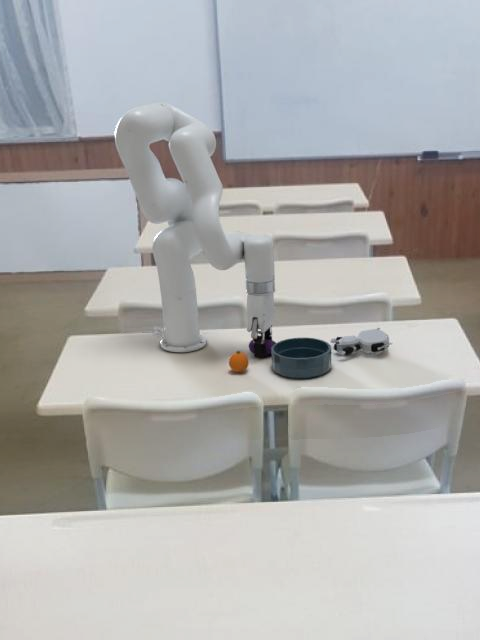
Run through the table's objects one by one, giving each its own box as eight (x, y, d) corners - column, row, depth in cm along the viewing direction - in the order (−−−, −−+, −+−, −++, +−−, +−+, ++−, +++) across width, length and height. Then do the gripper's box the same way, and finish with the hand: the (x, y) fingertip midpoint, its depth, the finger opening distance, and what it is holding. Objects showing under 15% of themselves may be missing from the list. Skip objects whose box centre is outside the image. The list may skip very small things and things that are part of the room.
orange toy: (226, 374, 217) (225, 353, 214) (233, 366, 221) (232, 346, 218) (244, 375, 215) (243, 355, 212) (251, 368, 219) (250, 348, 216)
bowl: (264, 376, 215) (263, 355, 212) (283, 355, 227) (282, 335, 224) (321, 382, 210) (321, 361, 207) (337, 360, 222) (337, 340, 219)
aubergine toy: (247, 355, 227) (246, 341, 225) (252, 350, 230) (251, 335, 228) (277, 358, 225) (277, 344, 222) (282, 353, 228) (282, 338, 226)
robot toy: (339, 365, 221) (395, 356, 223) (338, 349, 219) (394, 340, 220) (329, 349, 232) (382, 340, 233) (328, 333, 229) (381, 324, 230)
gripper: (257, 275, 225) (260, 341, 235) (235, 294, 212) (239, 363, 222) (284, 277, 223) (286, 344, 233) (263, 296, 210) (266, 366, 220)
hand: (263, 352), depth 227 cm, fingers open, 4 cm apart
